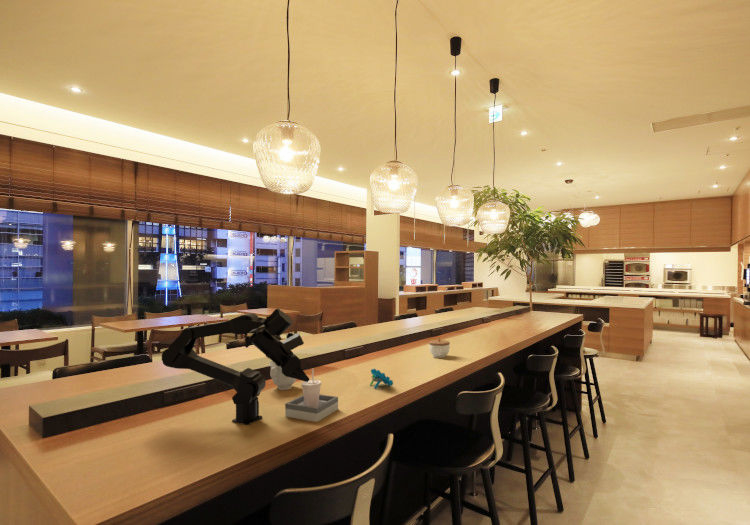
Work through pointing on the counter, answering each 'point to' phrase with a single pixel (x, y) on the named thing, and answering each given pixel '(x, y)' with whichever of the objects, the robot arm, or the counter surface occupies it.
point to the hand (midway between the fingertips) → (305, 377)
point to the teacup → (280, 377)
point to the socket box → (311, 408)
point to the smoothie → (311, 391)
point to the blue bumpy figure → (380, 378)
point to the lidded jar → (439, 348)
